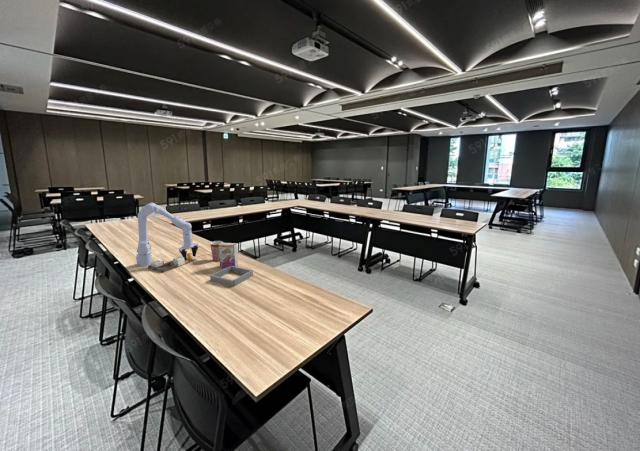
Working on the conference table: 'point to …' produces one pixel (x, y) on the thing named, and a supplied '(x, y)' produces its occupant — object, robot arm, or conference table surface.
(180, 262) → the orange mallet
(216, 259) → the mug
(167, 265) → the lane rack
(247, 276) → the desk tray rim
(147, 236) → the robot arm
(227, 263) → the candy bar box
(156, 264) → the grey block
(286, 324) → the conference table surface
